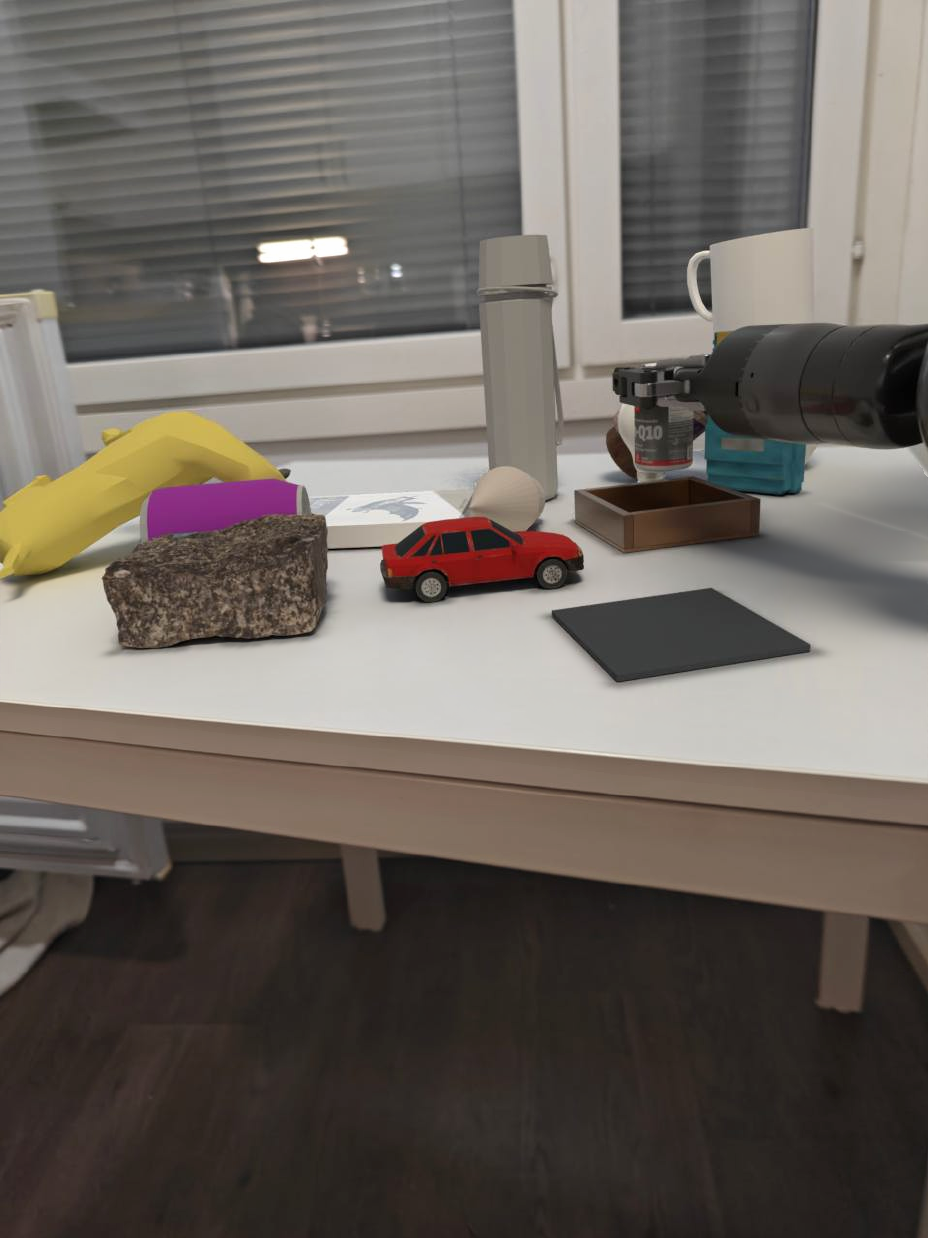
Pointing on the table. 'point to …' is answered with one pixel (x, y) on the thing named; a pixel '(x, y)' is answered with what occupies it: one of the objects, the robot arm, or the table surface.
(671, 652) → the mat
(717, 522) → the wooden tray
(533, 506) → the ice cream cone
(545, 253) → the water bottle
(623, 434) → the lightbulb
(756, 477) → the teal upright box
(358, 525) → the book
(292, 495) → the beverage can
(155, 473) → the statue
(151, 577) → the stone
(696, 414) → the mug
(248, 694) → the table surface
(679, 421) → the pill bottle
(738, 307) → the mug
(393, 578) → the toy car
